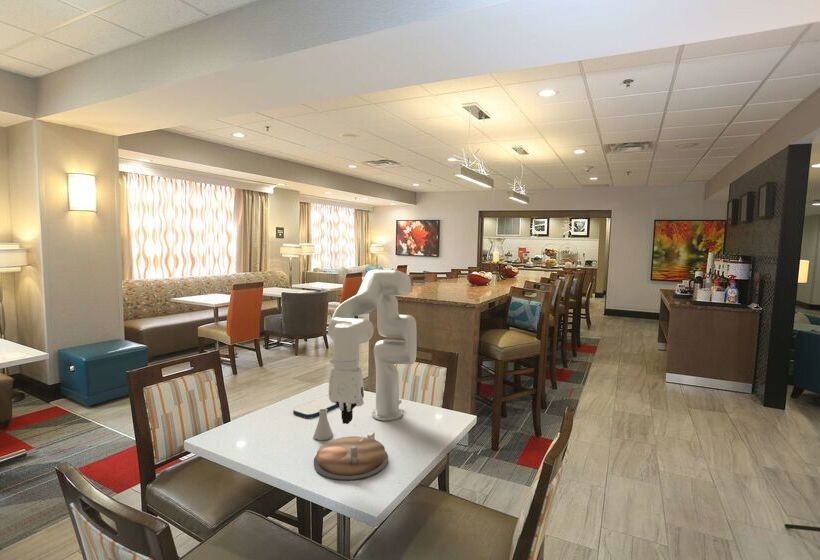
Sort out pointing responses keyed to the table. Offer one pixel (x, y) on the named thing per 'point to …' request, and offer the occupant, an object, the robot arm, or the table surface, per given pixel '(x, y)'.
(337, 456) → the turntable
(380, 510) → the table surface
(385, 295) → the robot arm
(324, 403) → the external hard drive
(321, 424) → the flask
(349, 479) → the base
